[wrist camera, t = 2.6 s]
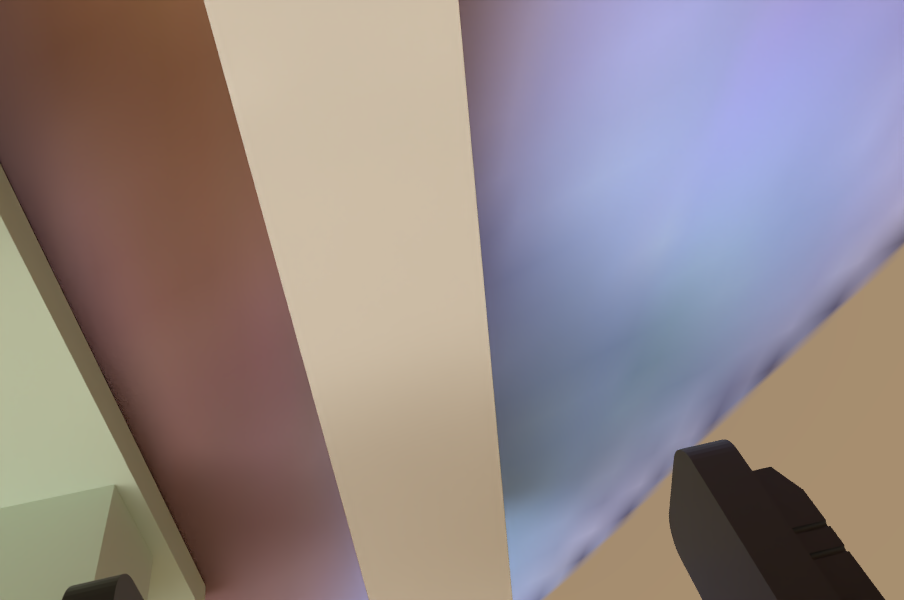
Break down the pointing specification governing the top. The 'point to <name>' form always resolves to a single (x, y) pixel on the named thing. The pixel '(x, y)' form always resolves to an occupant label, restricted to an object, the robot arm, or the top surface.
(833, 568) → the robot arm
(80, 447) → the sage green peg rail
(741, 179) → the top surface
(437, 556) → the clay strip
